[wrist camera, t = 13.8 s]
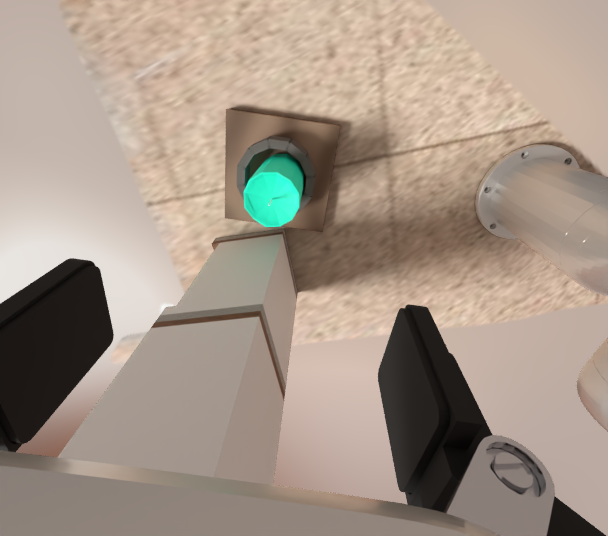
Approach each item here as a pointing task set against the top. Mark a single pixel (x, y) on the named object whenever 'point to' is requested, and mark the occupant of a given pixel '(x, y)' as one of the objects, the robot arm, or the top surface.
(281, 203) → the candle
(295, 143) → the candle stand
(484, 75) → the top surface
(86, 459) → the tall banded pillar
